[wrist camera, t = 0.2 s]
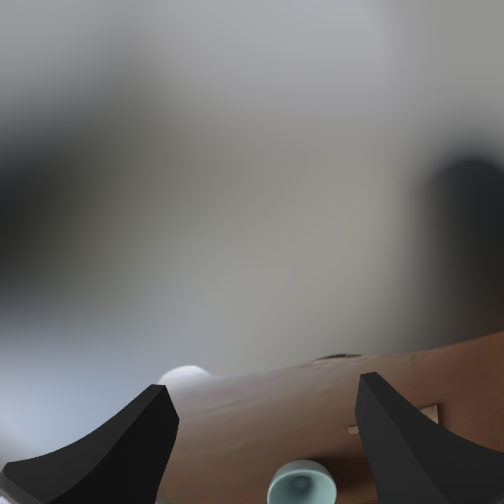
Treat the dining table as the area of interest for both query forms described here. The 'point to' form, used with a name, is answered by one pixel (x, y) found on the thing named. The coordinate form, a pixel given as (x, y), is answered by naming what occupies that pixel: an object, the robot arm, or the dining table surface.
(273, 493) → the cup
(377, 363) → the dining table surface
